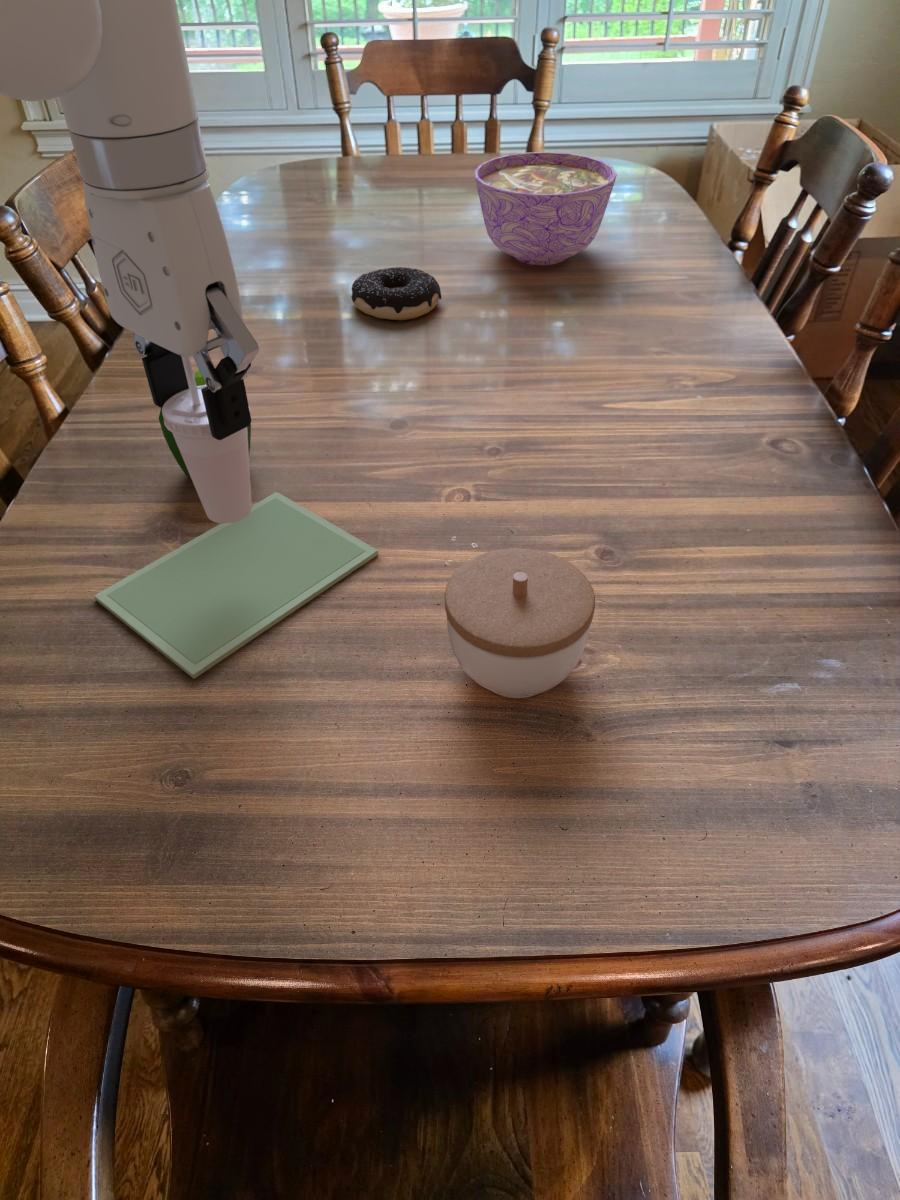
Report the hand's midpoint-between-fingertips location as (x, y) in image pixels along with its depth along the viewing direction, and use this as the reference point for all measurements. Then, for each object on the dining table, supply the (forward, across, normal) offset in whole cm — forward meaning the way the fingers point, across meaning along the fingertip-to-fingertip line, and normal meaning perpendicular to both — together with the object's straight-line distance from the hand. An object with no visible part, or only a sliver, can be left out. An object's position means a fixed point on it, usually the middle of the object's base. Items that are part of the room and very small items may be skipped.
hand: (202, 413), depth 65 cm
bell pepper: (+16, -15, +9) cm, 24 cm away
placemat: (+16, 0, 0) cm, 16 cm away
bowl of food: (+16, -25, +76) cm, 82 cm away
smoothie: (+9, 0, 0) cm, 9 cm away
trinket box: (+16, +25, +7) cm, 31 cm away
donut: (+16, -29, +49) cm, 59 cm away
